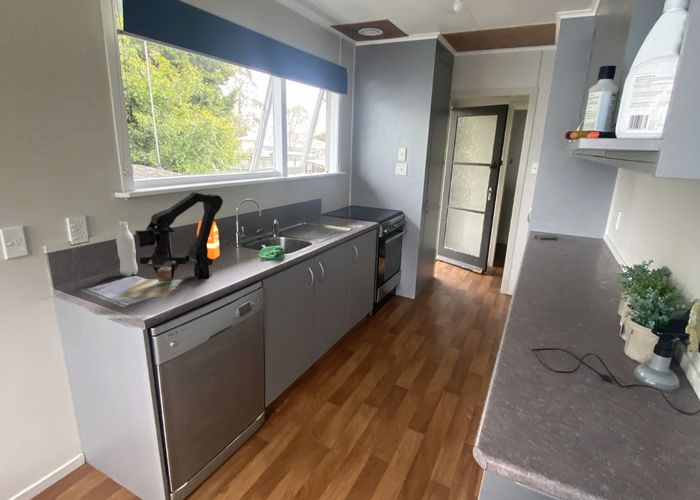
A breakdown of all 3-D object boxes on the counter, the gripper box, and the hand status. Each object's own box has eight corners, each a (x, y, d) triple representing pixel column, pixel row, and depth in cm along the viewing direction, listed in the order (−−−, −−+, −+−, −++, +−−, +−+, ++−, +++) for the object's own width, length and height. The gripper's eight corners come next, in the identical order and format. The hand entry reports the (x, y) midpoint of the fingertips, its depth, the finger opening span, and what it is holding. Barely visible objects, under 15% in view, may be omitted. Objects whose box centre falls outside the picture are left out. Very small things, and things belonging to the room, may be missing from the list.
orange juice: (214, 259, 202) (212, 223, 197) (198, 258, 202) (195, 222, 197) (219, 255, 210) (217, 220, 204) (204, 254, 210) (201, 219, 204)
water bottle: (125, 272, 176) (118, 220, 170) (141, 272, 177) (135, 220, 171) (117, 277, 170) (110, 223, 163) (134, 277, 170) (127, 224, 164)
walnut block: (174, 277, 164) (173, 267, 163) (170, 281, 159) (169, 270, 158) (163, 277, 164) (161, 267, 162) (158, 281, 159) (157, 270, 157)
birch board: (183, 281, 167) (182, 279, 167) (166, 299, 148) (165, 296, 148) (141, 281, 166) (140, 279, 165) (118, 299, 146) (118, 296, 146)
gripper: (130, 248, 148) (135, 284, 153) (179, 248, 150) (182, 284, 154) (143, 241, 159) (147, 275, 163) (188, 241, 161) (191, 275, 165)
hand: (166, 278), depth 161 cm, fingers closed on walnut block, 5 cm apart
